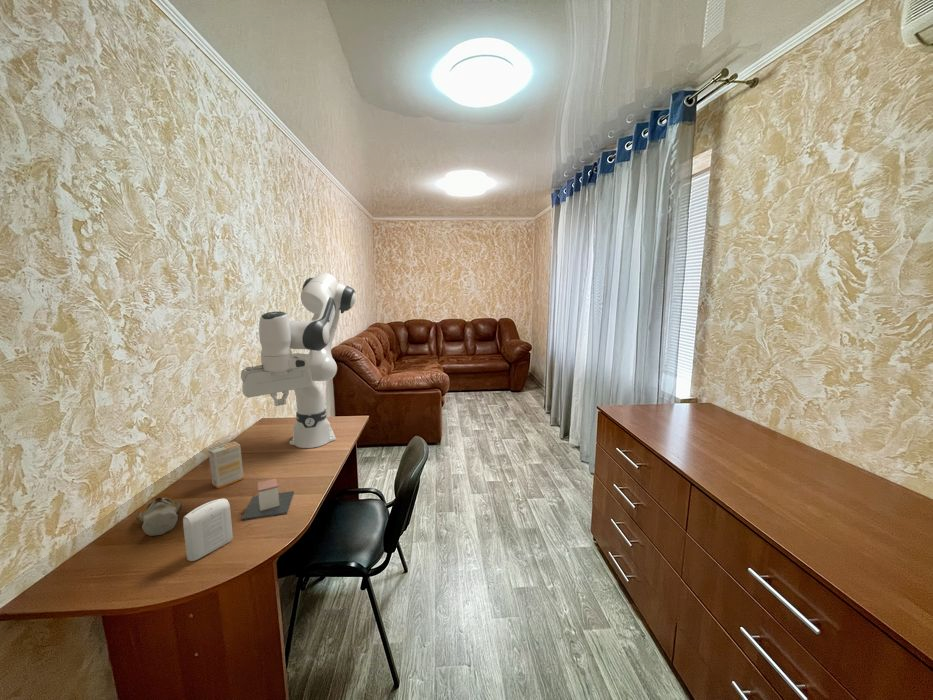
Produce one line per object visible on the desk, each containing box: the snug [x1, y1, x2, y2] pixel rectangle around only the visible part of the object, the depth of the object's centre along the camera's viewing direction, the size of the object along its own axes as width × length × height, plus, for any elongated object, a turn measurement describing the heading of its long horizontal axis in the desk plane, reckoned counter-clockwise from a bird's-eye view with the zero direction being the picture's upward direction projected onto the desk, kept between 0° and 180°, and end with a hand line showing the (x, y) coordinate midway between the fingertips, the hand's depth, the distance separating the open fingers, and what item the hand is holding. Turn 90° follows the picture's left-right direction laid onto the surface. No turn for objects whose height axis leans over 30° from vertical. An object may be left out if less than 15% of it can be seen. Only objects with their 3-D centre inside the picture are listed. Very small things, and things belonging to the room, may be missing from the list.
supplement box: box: [208, 441, 244, 489], centre depth 125 cm, size 8×5×13 cm, turn 145°
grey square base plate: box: [241, 490, 295, 521], centre depth 112 cm, size 12×12×6 cm
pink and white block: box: [256, 478, 280, 511], centre depth 112 cm, size 5×5×7 cm
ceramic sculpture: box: [135, 497, 184, 537], centre depth 102 cm, size 11×9×15 cm
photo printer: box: [182, 498, 234, 562], centre depth 93 cm, size 10×4×12 cm, turn 152°
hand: (280, 404), depth 118 cm, fingers closed
